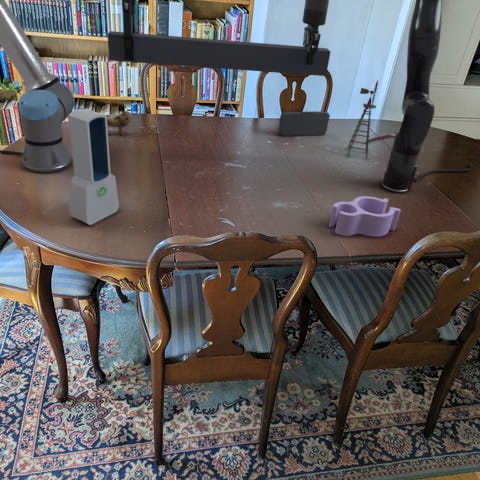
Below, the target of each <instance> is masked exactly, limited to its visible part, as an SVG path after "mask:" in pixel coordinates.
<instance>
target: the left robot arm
mask: <svg viewBox="0 0 480 480" xmlns="http://www.w3.org/2000/svg"><path fill="white" fill-rule="evenodd" d="M136 5H137V0H121V8H122V32H123V36H122V38H124V41H125V60H134V45H133V39H132V38H133V33H139V31H137V20H136V19H137V17H136V16H137V15H136V12H137V7H136ZM128 33H129V34H128ZM0 46H1V48H2V49H3V51H4V53H5V54H6V56H7V57H8V59H9V60H10V62H11V63H12V65H13V66H14V68H15V69H16V71H17V72H18V74H19V76H20V78H21V79H22V80H23V82H24V83H25V86H26V87H25V92H24V93H22V95H20V97H19V98H18V111H19V114H20V120H21V126H22V132H23V137H24V148H23V152H22V151H14V150H3V149H1V150H0V154H11V155H17V156H22V158H21V159H22V160H21V161H22V166H23V168H24V169H25V170H27V171H29V172H33V173H39V174H46V173H56V172H61V171H63V170H66V169H67V168H69V167H70V166H71V163H72V159H71V155H70V153H69V151H68V150H67V149H68V148H67V147H66V145H65V143H64V140H63V132H62V123H63V122H64V121H65V120H66V119H67V118H68V115H69V114H70V113H71V112H73V111H74V110H73V109H74V107H75V97H74V94H73V92H72V90H71V89H70V88H69V87H68V86H67V85H65V84H63V83H62V82H61V81H60V79H59V77H58V76H57V75H56V74H53V73H50V71H49V70H48V69H47V67H46V65H45V63H44V62H43V60H42V59H41V57H40V55H39V53H38V52H37V51H36V49H35V47H34V46H33V43H32V42H31V41H30V39H29V37H28V36H27V33H26V32H25V30H24V29H23V28H22V26H21V24H20V23H19V21H18V20H17V18H16V16H15V15H14V13H13V12H12V10H11V8H10V6H9V4H8V3H7V1H6V0H0Z"/></svg>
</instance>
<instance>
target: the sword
mask: <svg viewBox="0 0 480 480" xmlns="http://www.w3.org/2000/svg"><path fill="white" fill-rule="evenodd" d="M396 133H397V132H393V133H390V134H387V135H381V136H378V137H374V138H369V141H368V143H370V142H374V141H378V140H381V139H386V138H390V137H394V136H396Z"/></svg>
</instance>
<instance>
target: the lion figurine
mask: <svg viewBox="0 0 480 480" xmlns="http://www.w3.org/2000/svg"><path fill="white" fill-rule="evenodd" d="M131 120H132V116H131V112H130V111H128V110H124V111H122V112H121V113H120V114H118V115H117V116H115V117H109V116H107V126H108V127H110V128H118V129H117V132H118V133H119V135H121V136H124V135H125V134H124V133H123V129H124V128H126V127H128V125H129V124H130V123H131Z"/></svg>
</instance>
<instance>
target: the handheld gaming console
mask: <svg viewBox="0 0 480 480" xmlns="http://www.w3.org/2000/svg"><path fill="white" fill-rule="evenodd" d="M330 116H331V115H330V113H329V112H328V111H318V110H317V111H285V112H282V113H281V114H280V117H279V124H278V134H279V135H280V136H283V137H284V136H285V137H287V136H290V137H291V136H321V135H325V134H326V133H327V132H328V126H329V120H330Z"/></svg>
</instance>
